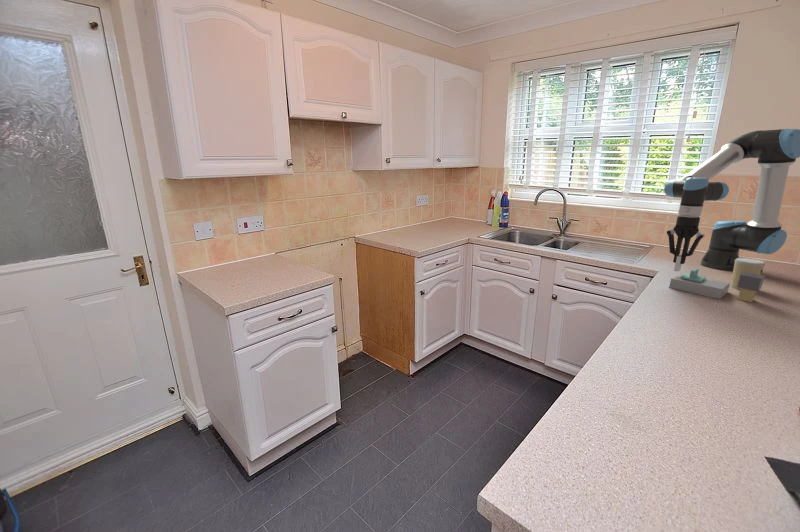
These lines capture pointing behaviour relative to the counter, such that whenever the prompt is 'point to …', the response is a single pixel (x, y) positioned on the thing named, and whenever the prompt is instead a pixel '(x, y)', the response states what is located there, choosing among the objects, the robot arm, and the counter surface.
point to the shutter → (693, 276)
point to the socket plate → (700, 286)
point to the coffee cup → (745, 269)
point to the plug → (749, 285)
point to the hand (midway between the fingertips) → (677, 270)
